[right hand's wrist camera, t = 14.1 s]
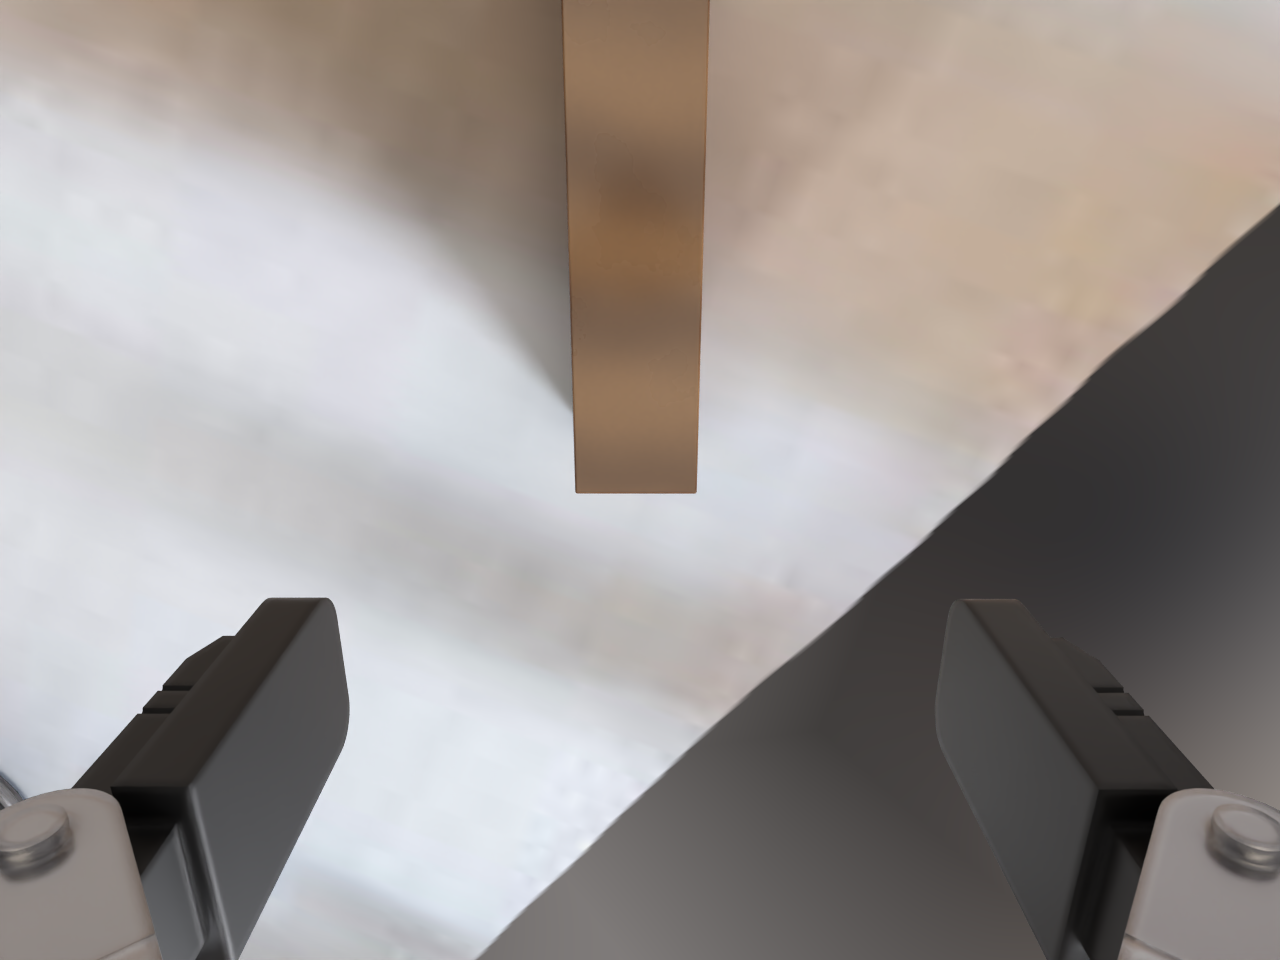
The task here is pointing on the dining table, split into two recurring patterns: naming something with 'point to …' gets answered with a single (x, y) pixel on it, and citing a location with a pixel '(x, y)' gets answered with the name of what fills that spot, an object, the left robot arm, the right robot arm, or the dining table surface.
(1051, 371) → the dining table surface
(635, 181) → the beam
